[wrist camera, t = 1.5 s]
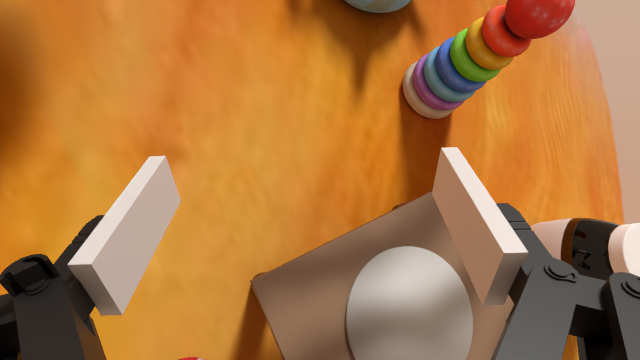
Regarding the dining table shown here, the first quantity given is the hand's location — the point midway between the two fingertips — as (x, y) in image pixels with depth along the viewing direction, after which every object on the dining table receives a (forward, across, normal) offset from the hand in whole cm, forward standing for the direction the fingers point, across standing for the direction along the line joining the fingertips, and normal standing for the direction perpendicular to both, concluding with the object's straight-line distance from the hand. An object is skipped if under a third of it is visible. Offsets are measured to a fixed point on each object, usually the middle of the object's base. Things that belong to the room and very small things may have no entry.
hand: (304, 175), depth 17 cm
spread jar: (+14, +27, -25) cm, 39 cm away
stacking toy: (+29, +15, -8) cm, 33 cm away
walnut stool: (+7, +5, -22) cm, 23 cm away
